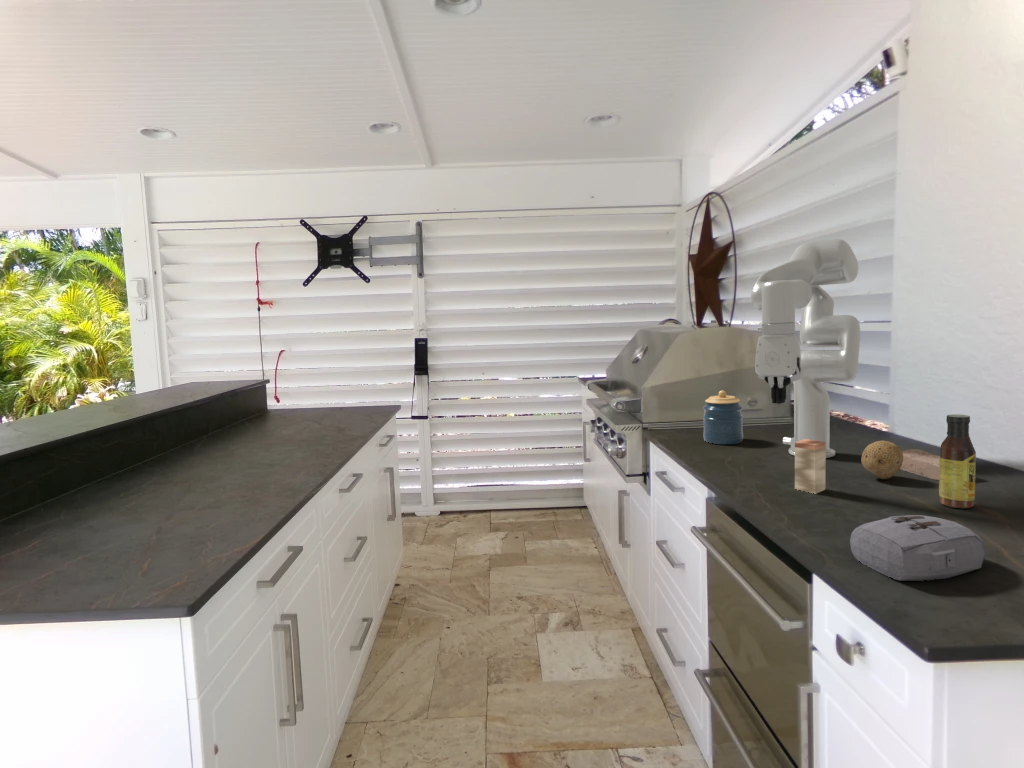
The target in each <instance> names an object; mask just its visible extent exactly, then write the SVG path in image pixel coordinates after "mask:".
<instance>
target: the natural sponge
mask: <svg viewBox="0 0 1024 768" xmlns="http://www.w3.org/2000/svg"><path fill="white" fill-rule="evenodd" d="M902 451H903V450H902V449H901V448H900V447H899V446H898V445H896V444H895V443H893V442H891V441H888V440H887V441H886V440H877V441H874V442H872V443H870V444H868V445H867V446H866V447H865V448H864V450H862V454H861V458H860V459H861V460H860V461H861V465H862V466H863V468H864V469H865V470H867V472H870V473H872V474H873V475H874V476H875V477H877V478H878V479H880V480H888V479H891V478H892V477H894V476H895V475H896V474H897V473H898V472H899V470H900V467H901V465H902V463H903V453H902Z"/></svg>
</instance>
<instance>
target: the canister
mask: <svg viewBox="0 0 1024 768" xmlns="http://www.w3.org/2000/svg"><path fill="white" fill-rule="evenodd" d="M704 402H705V403H706V404H704V406H702V409H703V411H704V414H703V416H702V419H703V420H702V421H703V435H702V436H703V441H704V442H705V441H706V442H705V443H708V442H709V443H708V444H712V443H713V445H736V444H739V443H742V442H743V440H744V433H743V432H744V431H743V430H744V429H743V426H744V425H743V419H744V417H743V415H742V410H743V409H744V407H743V406H742V405H741V404H740V402H741V400H740V399H739V398H737V397H736V396H734V395H728V394H727V392H726V391H725V390H723V389H722V390H719V391H718V395H711V396H709V397H708V398H707V399H705V400H704Z"/></svg>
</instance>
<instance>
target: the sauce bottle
mask: <svg viewBox="0 0 1024 768" xmlns="http://www.w3.org/2000/svg"><path fill="white" fill-rule="evenodd" d="M946 423H947V431H946V437H945V438H944V440H943V441H942V442H941V444H940V447H939V448H940V455H939V456H940V473H939V480H938V482H939V484H938V486H939V487H938V490H939V492H938V496H939V503H940V504H941V505H943V506H945V507H947V508H955V509H970V508H972V507H974V505H975V498H976V497H975V496H976V470H977V469H976V465H977V464H976V463H977V462H976V460H977V458H976V456H977V452H976V450H975V448H974V444H973V442H972V440H971V438H970V433H969V432H970V431H969V430H970V423H971V416H970V415H965V414H947V415H946Z"/></svg>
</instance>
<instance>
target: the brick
mask: <svg viewBox="0 0 1024 768" xmlns="http://www.w3.org/2000/svg"><path fill="white" fill-rule="evenodd" d="M901 451H902V453H903V463H902V465H901V467H900V469H899V470H900V471H904V472H908V473H912V474H914V475H918V476H921V477H925V478H927V479H928V478H929V479H931V480H935V481H939V473H940V455H936V454H933V453H931V452H927V451H924V450H923V449H917V448H916V449H914V448H913V449H912V448H910V449H905V450H901Z"/></svg>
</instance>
